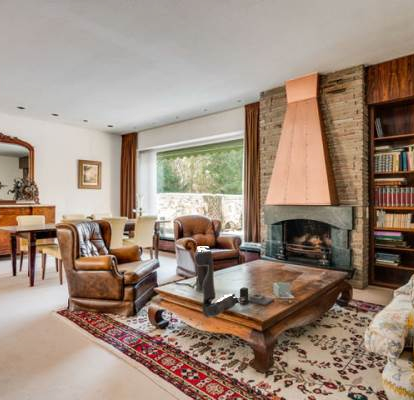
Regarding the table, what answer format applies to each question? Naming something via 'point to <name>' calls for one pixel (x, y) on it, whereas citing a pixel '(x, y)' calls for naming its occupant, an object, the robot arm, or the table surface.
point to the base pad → (259, 299)
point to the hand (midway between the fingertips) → (240, 296)
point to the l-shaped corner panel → (282, 290)
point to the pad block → (244, 294)
